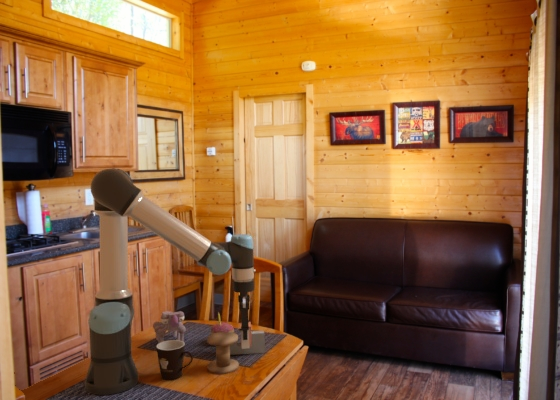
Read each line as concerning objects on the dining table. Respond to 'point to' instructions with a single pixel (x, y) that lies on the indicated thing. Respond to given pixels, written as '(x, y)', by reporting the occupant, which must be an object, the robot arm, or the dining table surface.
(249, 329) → the salmon pink block
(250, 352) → the notch board
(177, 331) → the pale pink animal-shaped figure
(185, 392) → the dining table surface
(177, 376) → the coffee mug
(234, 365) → the door knob
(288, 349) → the dining table surface
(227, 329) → the cupcake
